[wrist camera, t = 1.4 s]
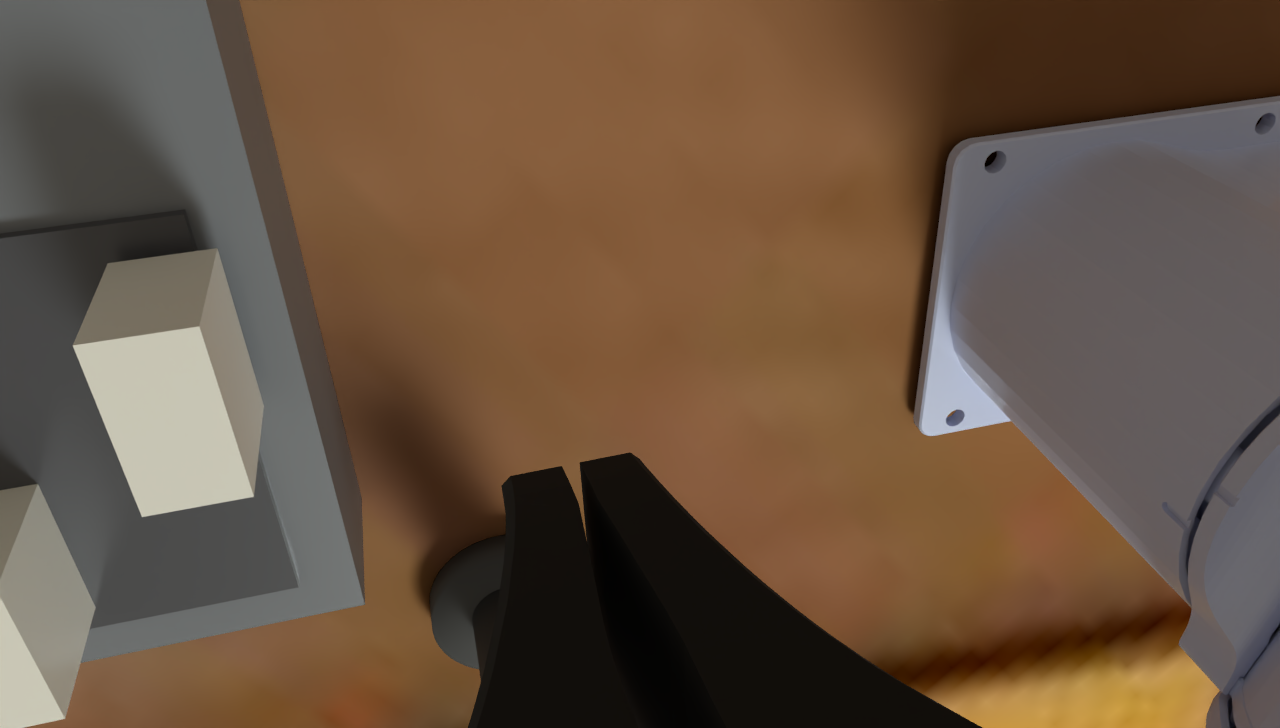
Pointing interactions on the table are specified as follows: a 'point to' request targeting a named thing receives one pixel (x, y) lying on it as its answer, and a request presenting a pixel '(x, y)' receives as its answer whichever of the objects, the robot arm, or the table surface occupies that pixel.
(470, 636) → the cord stand
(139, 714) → the table surface
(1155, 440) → the robot arm
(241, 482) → the block
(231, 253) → the block
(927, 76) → the table surface
